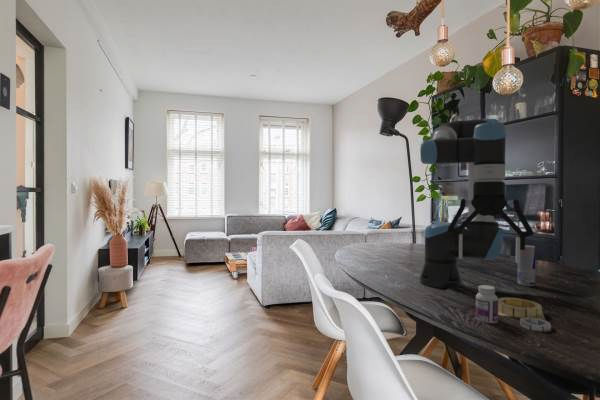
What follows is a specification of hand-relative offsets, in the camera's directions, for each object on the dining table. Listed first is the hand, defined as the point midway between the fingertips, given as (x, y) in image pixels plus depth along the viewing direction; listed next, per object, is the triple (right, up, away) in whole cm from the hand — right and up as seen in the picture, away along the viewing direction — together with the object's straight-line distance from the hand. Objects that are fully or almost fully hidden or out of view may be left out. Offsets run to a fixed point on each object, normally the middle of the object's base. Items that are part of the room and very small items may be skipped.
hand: (488, 260), depth 95 cm
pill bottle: (0, -17, 0) cm, 17 cm away
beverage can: (+35, -16, +39) cm, 55 cm away
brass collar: (+12, -16, +6) cm, 21 cm away
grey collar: (+9, -17, -5) cm, 20 cm away
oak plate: (+12, -17, +6) cm, 21 cm away
